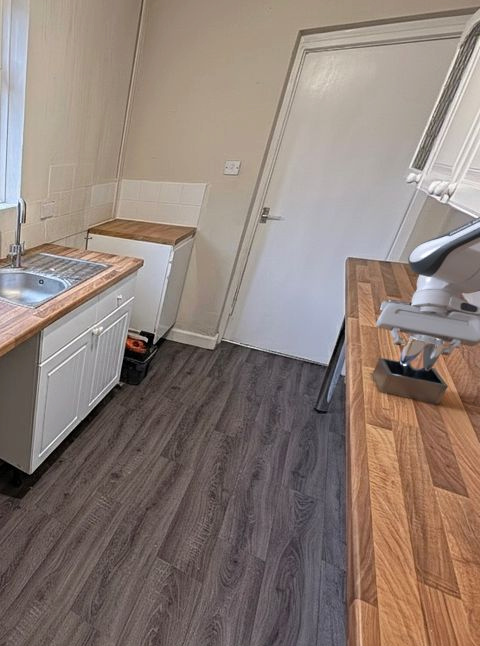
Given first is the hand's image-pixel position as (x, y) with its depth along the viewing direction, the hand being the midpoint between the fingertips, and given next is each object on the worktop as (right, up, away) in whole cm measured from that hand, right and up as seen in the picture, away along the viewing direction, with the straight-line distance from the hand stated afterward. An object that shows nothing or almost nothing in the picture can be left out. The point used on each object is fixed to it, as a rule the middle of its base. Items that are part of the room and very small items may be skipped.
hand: (421, 349), depth 113 cm
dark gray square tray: (-1, -12, +4) cm, 12 cm away
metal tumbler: (-1, -11, +4) cm, 12 cm away
